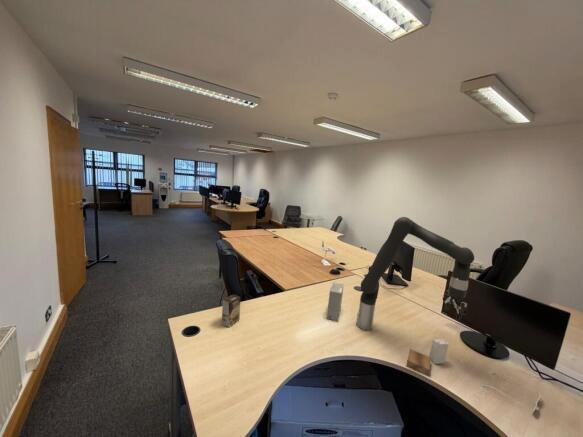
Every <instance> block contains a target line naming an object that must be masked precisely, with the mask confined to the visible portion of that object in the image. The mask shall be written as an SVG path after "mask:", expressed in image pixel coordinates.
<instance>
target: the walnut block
mask: <svg viewBox="0 0 583 437" xmlns="http://www.w3.org/2000/svg"><path fill="white" fill-rule="evenodd" d="M431 363H432V361H431V357H429V355H426V354H423V353H421V352H418V351H415V350H414V349H411V348H409V351H408V357H407V360H406V364H405V366H406V368H409V369H411V370H413V371H416V372H418V373H420V374H422V375H425V376H427V377H429V376H430V371H431Z"/></svg>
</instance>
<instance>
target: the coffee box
mask: <svg viewBox="0 0 583 437" xmlns="http://www.w3.org/2000/svg"><path fill="white" fill-rule="evenodd" d="M221 313H222V314H221V315H222V316H221V325H223V326H225V325H226V326H228V327H229V328H231V327H232V326H234V325H236V324H237V323H238V322H240V321H239V320H241V318H240V317H241V296H238V295H237V294H231V295H229V296H227V297H225V298H223V299H222V311H221ZM237 321H238V322H237ZM236 322H237V323H236ZM233 324H234V325H233ZM226 326H225V327H226ZM230 326H231V327H230ZM228 327H227V328H228Z"/></svg>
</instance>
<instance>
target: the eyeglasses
mask: <svg viewBox="0 0 583 437" xmlns="http://www.w3.org/2000/svg"><path fill="white" fill-rule="evenodd" d="M489 374H490V375H496V374H497V375H499V374H500V375H502V376H505V377H508V378H510V379H513V380H514V381H516V379H514V378H512V377H511V376H509V375H507V374H504V373H501V372H493V371H492V372H491V371H490V372H489ZM520 384H522V385H524V386H526V387H527V385H526V384H523V383H521V382H520ZM480 386H482V387H483V388H485V387H489V388H493V389H495V390H497V391H498V392H500V393H502V394H504V395H505V396H506V397H508V398H510V399H511V400H512V401H515V402H517V403H518V404H520V405H521V406H523V407H525V408H526V409H528V410H529V411H531V412H532V415H534V412H535V410H536V408H537V406H538V403H539V400H540V399H541V395H542V394H541V393H540V391H537V390H535V393H537V394H538V395H539V396H538V399H537V400H535V401H534V403H533V406H532V407H534V408H533V409H532V408H530V407H527V406H525V405H524V404H522V403H520V402H519V401H517V400H515V399H513V398H511V397H510V396H509V395H507V394H505V393H503V392H502V391H501V390H499V389H498V388H495V387H494V386H492V385H491V386H490V385H488V384H481V383H480ZM529 389H530V390H532V391H534V389H533V388H531V387H529Z"/></svg>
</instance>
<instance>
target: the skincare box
mask: <svg viewBox="0 0 583 437" xmlns="http://www.w3.org/2000/svg"><path fill="white" fill-rule="evenodd" d="M448 348H449V343H448V342H447V341H446V340H445V339H443V338H432V341H431V346H430V351H429V355H428V357H431V363H432V364H434V365H443V364H444V365H445V362H446V357H447V354H448V353H447V352H448Z"/></svg>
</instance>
